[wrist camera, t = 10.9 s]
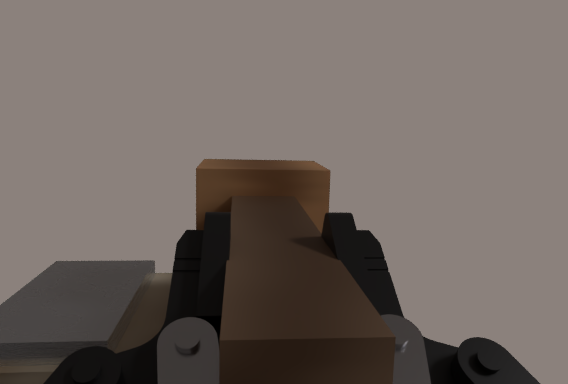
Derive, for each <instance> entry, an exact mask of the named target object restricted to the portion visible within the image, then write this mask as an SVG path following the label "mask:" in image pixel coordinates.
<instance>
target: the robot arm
mask: <svg viewBox="0 0 568 384" xmlns="http://www.w3.org/2000/svg"><path fill="white" fill-rule="evenodd" d="M321 237H322V238H323V239H324V241H325V242H326V244H327V245H328V247H329V248H330V249H331V251H332V252H333V254H334V255H335V257H336V258H337V259H338V260H341V262H342V263H343V264H344V266H345V267H346V269H347V270H348V271H349V273H350V274H351V276H352V277H353V278H354V280H355V281H356V283H357V284H358V285H359V287H360V288H361V290H362V291H363V292H364V294H365V295H366V296H367V298H368V299H369V301H370V302H371V303H372V305H373V306H374V308H375V309H376V310H377V312H378V313H379V315H380V316H381V317H382V319H383V320H384V322H385V323H386V324H387V326H388V327H389V328H390V330H391V331H392V333H393V334H394V335H395V337H396V340H395V355H394V370H393V384H540V383H539V382H538V381H537V380H536V379H535V378H534V377H533V376H532V375H531V374H530V373H529V372H528V371H527V370H526V369H525V368H524V367H523V366H522V365H521V364H520V363H519V362H518V361H517V360H516V359H515V358H514V357H513V356H512V355H511V354H510V353H509V352H508V351H507V350H506V349H505V348H503V347H502V346H501V345H499V344H497V343H496V342H494V341H492V340H489V339H486V338H480V337H476V338H475V337H474V338H469V339H467V340H465V341H464V342H462V343H461V345H460V346H459V348H458V347H454V346H450V345H447V344H443V343H440V342H436V341H433V340H430V339H427V338H425V337H423V336H422V334H421V332H420V331H419V329H418V328H417V327H416V326H415V325H414V324H413V323H412V322H410V321H409V320H407V319H405V318H404V316H403V314H402V311H401V307H400V304H399V301H398V298H397V295H396V292H395V289H394V286H393V282H392V279H391V276H390V273H389V272H388V267H387V263H386V261H385V259H384V254H383V251H382V248H381V245H380V243H379V242H378V240H377V239H376V238H375V237H374V236H373V234H372V233H371V232H370V231H369V230H356V226H355V222H354V219H353V215H352V214H351V213H326V214H325V217H324V222H323V229H322V235H321ZM230 242H231V212H206V213H205V221H204V230H186V231H185V233H184V234H183V235H182V237H181V238H180V240H179V241H178V243H177V247H176V253H175V261H174V266H173V273H172V279H171V285H170V292H169V298H168V305H167V312H166V318H165V322H164V324H163V326H162V328H161V330H160V331H159V332H158V333H157V335H156V336H154V337H153V338H152V339H151V340H149V341H148V342H146V343H145V344H143V345H140V346H138V347H135V348H132V349H129V350H126V351H122V352H119V353H114V352H113V351H112V350H110V349H108V348H105V347H101V346H91V347H86V348H82V349H80V350H77V351H75V352H74V353H72V354H70V355H69V356H68V357H66V358H65V359H64V360H63V361H62V362H61V363H60V365H59V366H58V367H57V368H56V369H55V371H54V372H53V373H52V374H51V375H50V376H49V378H48V379H47V380H46V381H45V382H44V383H43V384H219V350H220V330H221V319H222V307H223V296H224V285H225V274H226V262H227V260H229V257H230Z"/></svg>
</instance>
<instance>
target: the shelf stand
mask: <svg viewBox="0 0 568 384" xmlns="http://www.w3.org/2000/svg"><path fill="white" fill-rule="evenodd" d="M171 279H172V273H155V276H154V278H153V280H152V282H151V284H150V286H149V288H148V290H147V292H146V293H145V295H144V297H143V299H142V301H141V303H140V305H139V307H138V308H137V310H136V312H135V314H134V316H133V318H132V320H131V322H130V324H129V325H128V327H127V329H126V331H125V333H124V335H123V337H122V339H121V340H120V342H119V344H118V346H117V348H116V350H115V352H114V353H119V352H122V351H126V350H129V349H132V348H135V347H138V346H140V345H143V344H145V343H146V342H148V341H149V340H151V339H152V338H153V337H154V336H156V335H157V333H158V332H159V331H160V330H161V328H162V326H163V324H164V322H165V318H166V312H167V305H168V298H169V292H170V285H171ZM58 366H59V365H39V366H2V367H0V384H43V383H44V382H45V381H46V380H47V379H48V378H49V376H50V375H51V374H52V373H53V372H54V371H55V369H56V368H57V367H58Z"/></svg>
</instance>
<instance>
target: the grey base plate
mask: <svg viewBox="0 0 568 384" xmlns="http://www.w3.org/2000/svg"><path fill="white" fill-rule="evenodd" d="M154 276H155V261H56V262H55V263H54V264H52V265H51V266H50V267H49V268H47V269H46V270H45V271H43V272H42V273H41V274H39V275H38V276H37V277H36V278H34V280H32V281H31V282H29V283H28V284H27V285H25V286H24V287H23V288H22V289H21V290H19V291H18V292H17V293H15V294H14V295H13V296H11V297H10V298H9V299H7V300H6V301H5V302H4V303H2V304H1V305H0V367H2V366H39V365H60V363H61V362H62V361H63V360H64V359H65V358H66V357H68V356H69V355H70V354H72V353H74V352H75V351H77V350H80V349H82V348H86V347H91V346H101V347H105V348H108V349H110V350H112V351H113V352H115V350H116V348H117V346H118V344H119V342H120V340H121V339H122V337H123V335H124V333H125V331H126V329H127V327H128V325H129V324H130V322H131V320H132V318H133V316H134V314H135V312H136V310H137V308H138V307H139V305H140V303H141V301H142V299H143V297H144V295H145V293H146V292H147V290H148V288H149V286H150V284H151V282H152V280H153V278H154Z"/></svg>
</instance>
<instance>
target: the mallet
mask: <svg viewBox="0 0 568 384" xmlns="http://www.w3.org/2000/svg"><path fill="white" fill-rule="evenodd" d="M329 189H330V170H328V169H327V168H325V167H323V166H321V165H320V164H318V163H316V162H314V161H286V160H283V161H282V160H281V161H280V160H229V159H227V160H226V159H204V160H203V161H202V162H201V164H200V165H199V166H198V167H197V168H196V230H204V221H205V213H206V212H231V242H230V257H229V260H227V262H226V274H225V285H224V296H223V307H222V319H221V330H220V350H219V384H393V370H394V355H395V340H396V337H395V335H394V334H393V333H392V331H391V330H390V328H389V327H388V326H387V324H386V323H385V322H384V320H383V319H382V317H381V316H380V315H379V313H378V312H377V310H376V309H375V308H374V306H373V305H372V303H371V302H370V301H369V299H368V298H367V296H366V295H365V294H364V292H363V291H362V290H361V288H360V287H359V285H358V284H357V283H356V281H355V280H354V278H353V277H352V276H351V274H350V273H349V271H348V270H347V269H346V267H345V266H344V264H343V263H342V262H341V260H338V259H337V258H336V257H335V255H334V254H333V252H332V251H331V249H330V248H329V247H328V245H327V244H326V242H325V241H324V239H323V238H322V237H321V235H322V229H323V222H324V217H325V214H326V213H329V192H330V190H329Z"/></svg>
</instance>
